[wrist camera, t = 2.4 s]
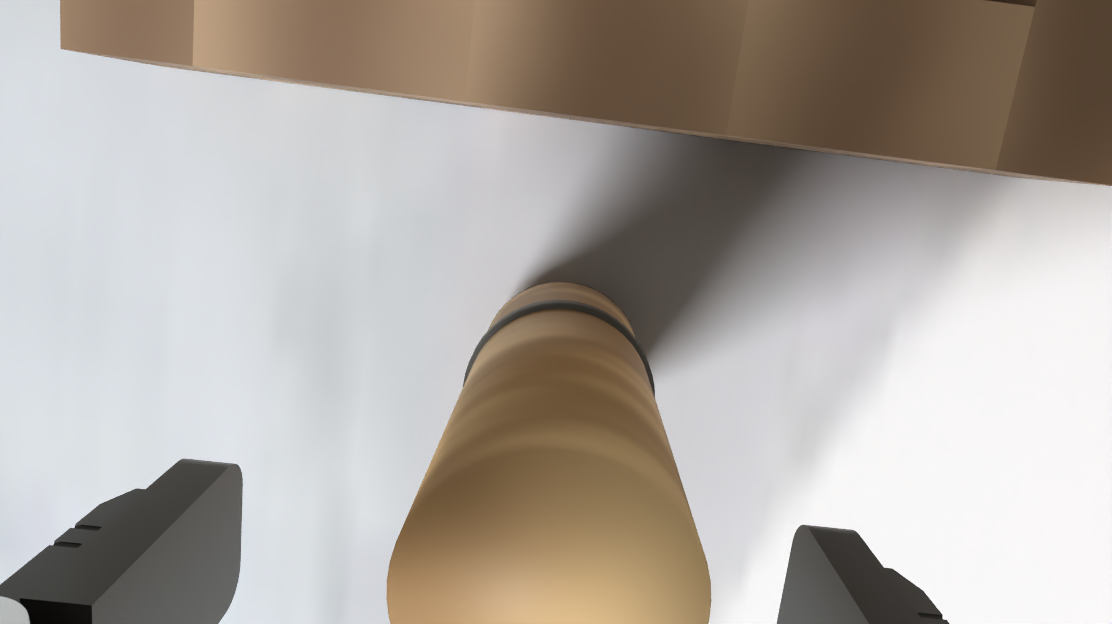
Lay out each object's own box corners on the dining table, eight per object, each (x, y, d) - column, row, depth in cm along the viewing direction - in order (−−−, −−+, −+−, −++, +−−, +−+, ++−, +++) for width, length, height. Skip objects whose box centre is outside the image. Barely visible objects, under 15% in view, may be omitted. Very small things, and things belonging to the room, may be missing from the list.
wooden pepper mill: (649, 282, 21) (747, 463, 9) (626, 430, 22) (689, 765, 10) (492, 262, 21) (393, 418, 9) (475, 411, 22) (366, 725, 10)
